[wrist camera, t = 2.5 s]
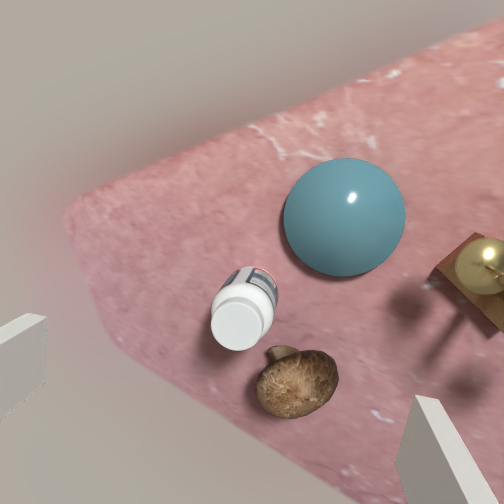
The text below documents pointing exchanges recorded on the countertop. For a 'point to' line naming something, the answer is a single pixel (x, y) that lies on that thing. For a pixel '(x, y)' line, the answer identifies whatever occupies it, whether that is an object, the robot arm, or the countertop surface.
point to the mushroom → (296, 382)
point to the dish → (344, 217)
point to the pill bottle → (244, 308)
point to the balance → (479, 274)
